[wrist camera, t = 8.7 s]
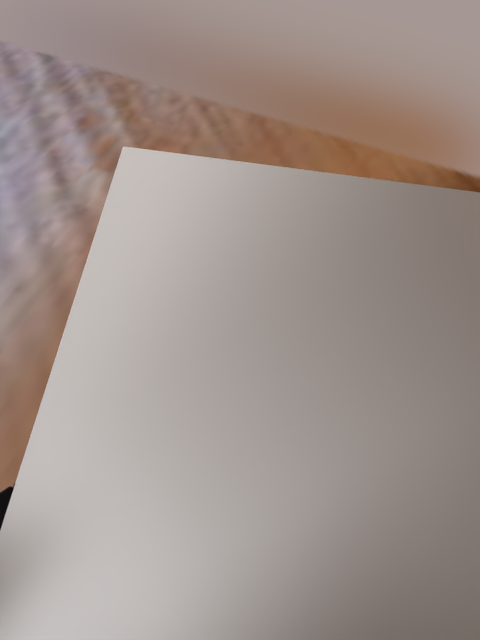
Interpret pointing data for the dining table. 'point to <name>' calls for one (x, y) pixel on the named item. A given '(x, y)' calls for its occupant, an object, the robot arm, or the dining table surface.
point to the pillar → (258, 416)
